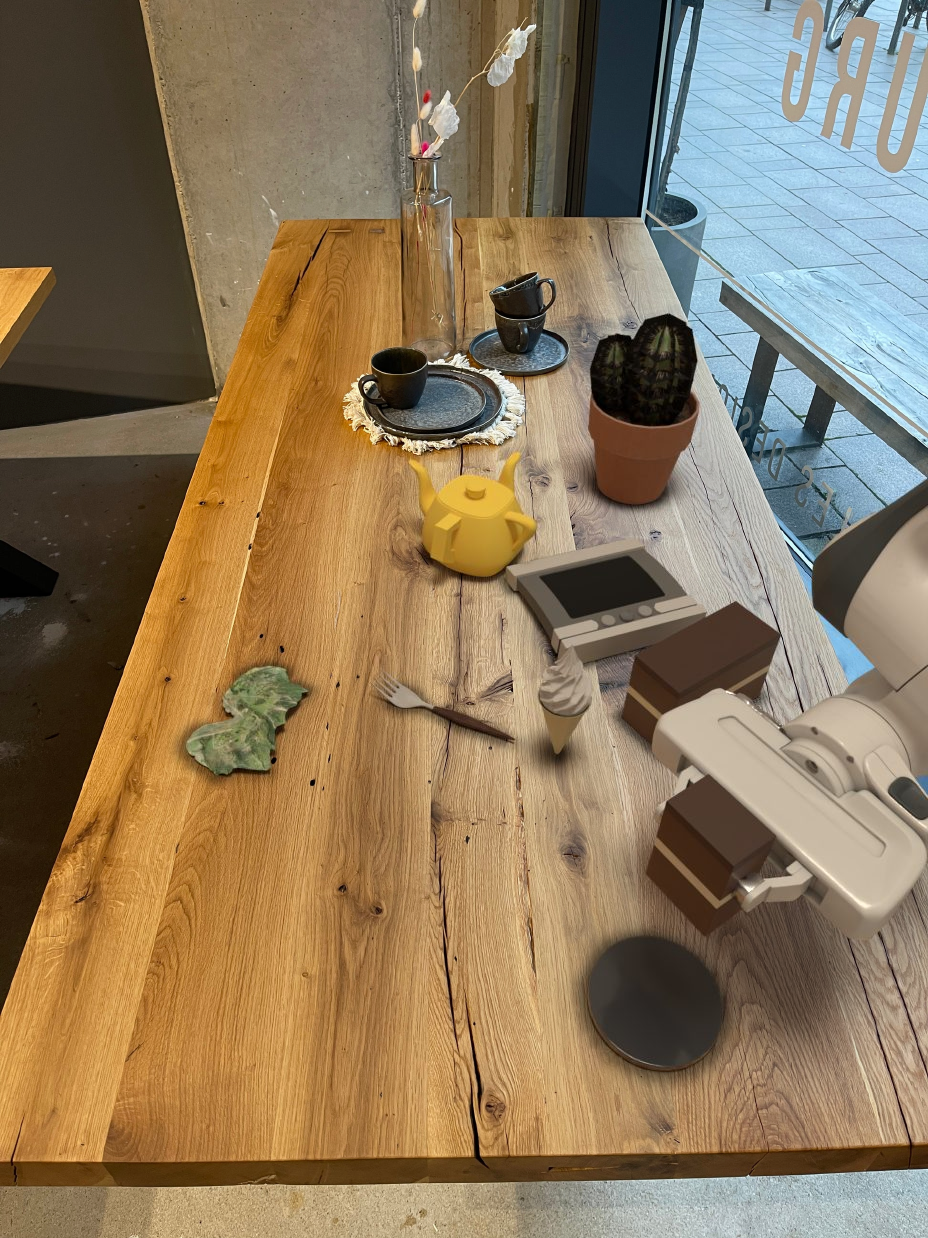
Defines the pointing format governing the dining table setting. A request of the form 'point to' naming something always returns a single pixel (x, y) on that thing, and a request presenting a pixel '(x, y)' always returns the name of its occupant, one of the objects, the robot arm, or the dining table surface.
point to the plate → (655, 1003)
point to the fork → (433, 707)
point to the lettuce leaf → (247, 722)
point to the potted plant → (642, 407)
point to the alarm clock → (604, 599)
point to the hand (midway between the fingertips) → (699, 859)
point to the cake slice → (706, 852)
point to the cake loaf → (700, 665)
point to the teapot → (473, 521)
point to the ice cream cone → (565, 697)
